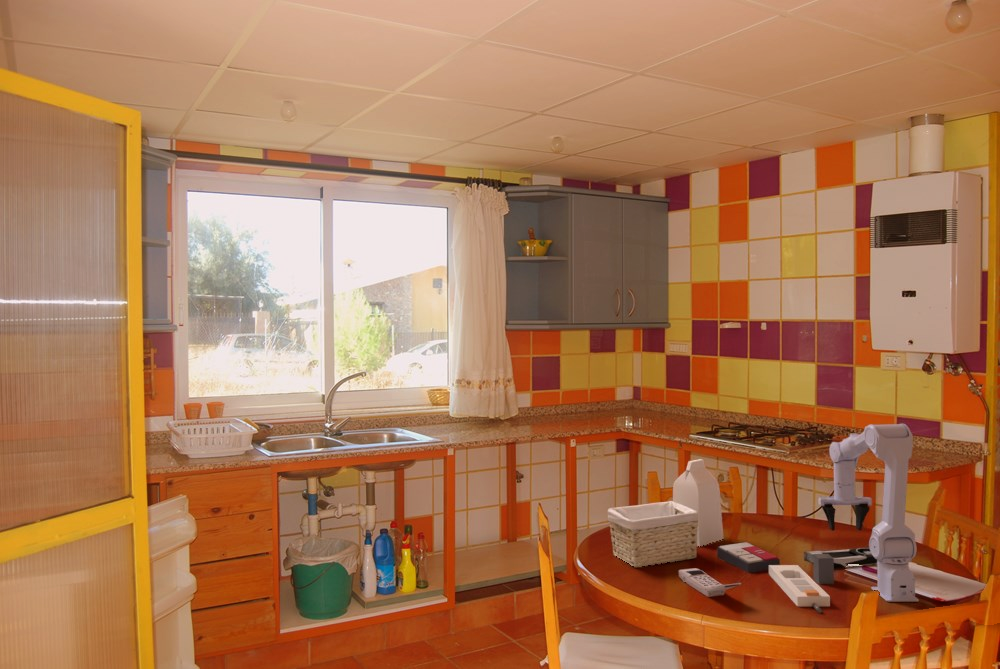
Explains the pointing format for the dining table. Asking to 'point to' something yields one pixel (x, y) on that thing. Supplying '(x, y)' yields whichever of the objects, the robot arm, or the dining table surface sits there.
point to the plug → (823, 568)
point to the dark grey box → (747, 557)
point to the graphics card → (846, 557)
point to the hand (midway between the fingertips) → (845, 529)
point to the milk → (701, 500)
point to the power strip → (799, 586)
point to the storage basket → (653, 533)
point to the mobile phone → (703, 582)
